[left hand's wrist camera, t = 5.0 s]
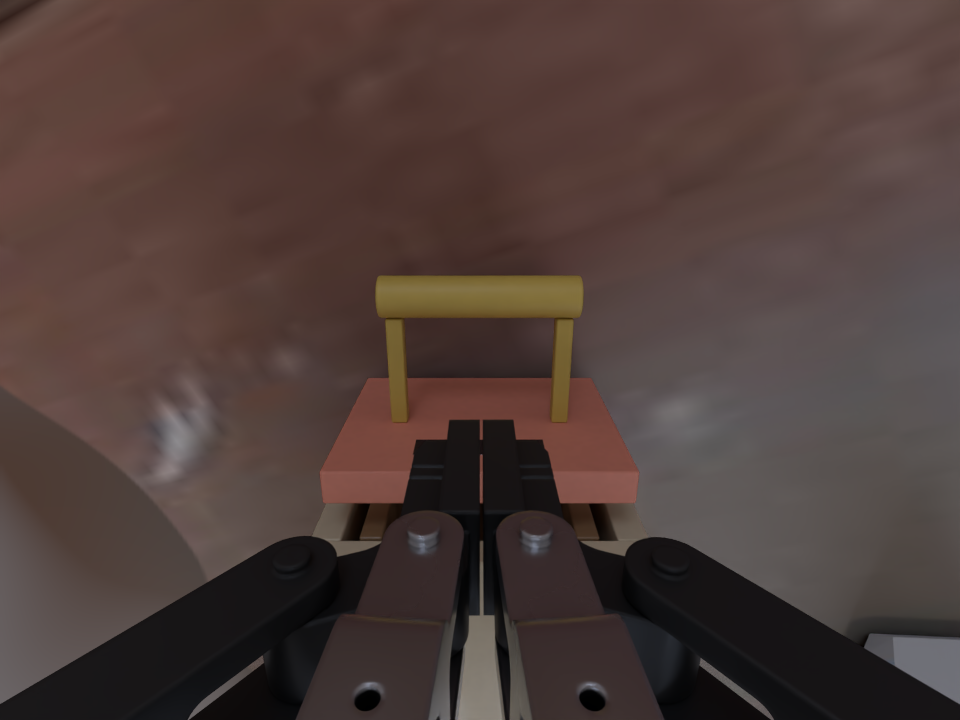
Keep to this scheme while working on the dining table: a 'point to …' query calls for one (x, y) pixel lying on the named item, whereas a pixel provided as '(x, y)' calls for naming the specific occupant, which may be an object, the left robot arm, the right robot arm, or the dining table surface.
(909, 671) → the electronic device
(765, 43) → the dining table surface
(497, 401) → the drawer
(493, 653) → the cream rectangular box
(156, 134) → the dining table surface
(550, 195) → the dining table surface
